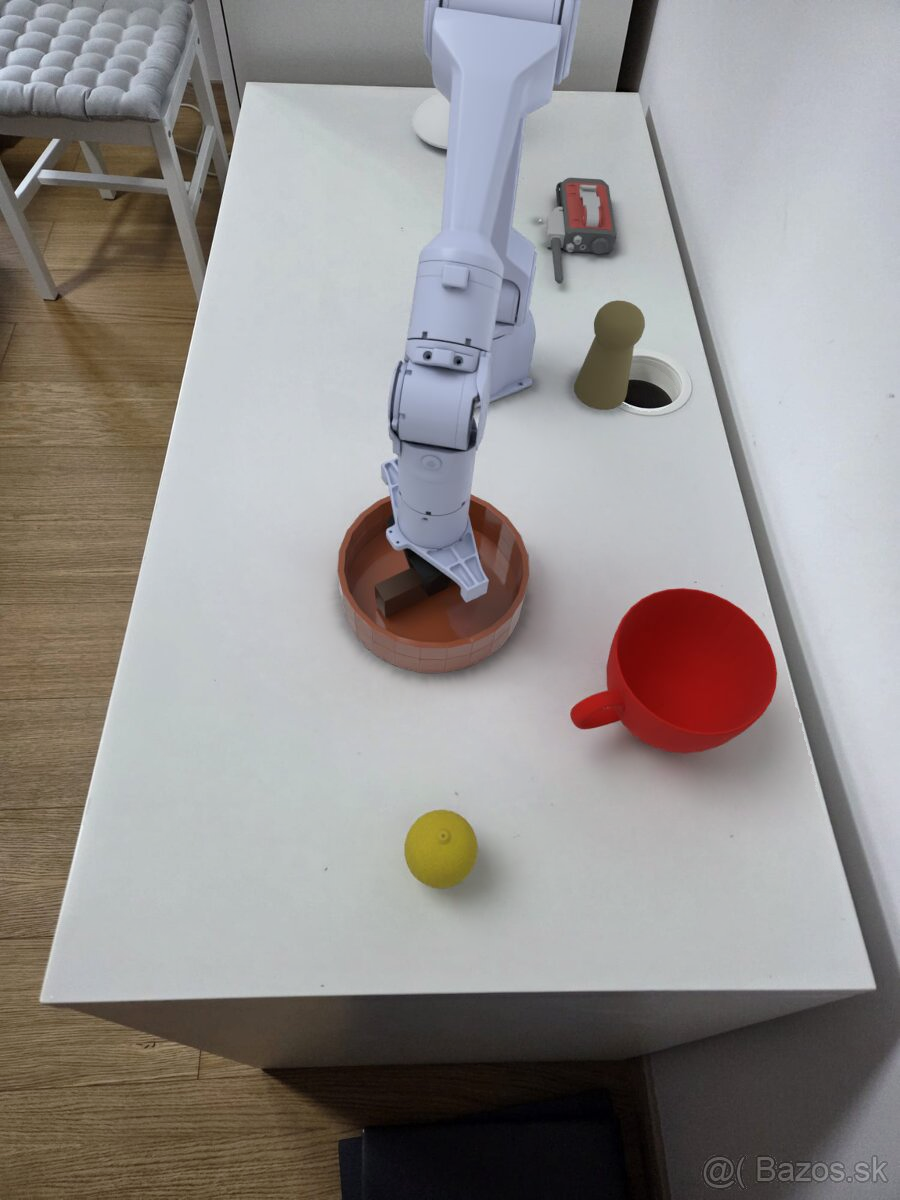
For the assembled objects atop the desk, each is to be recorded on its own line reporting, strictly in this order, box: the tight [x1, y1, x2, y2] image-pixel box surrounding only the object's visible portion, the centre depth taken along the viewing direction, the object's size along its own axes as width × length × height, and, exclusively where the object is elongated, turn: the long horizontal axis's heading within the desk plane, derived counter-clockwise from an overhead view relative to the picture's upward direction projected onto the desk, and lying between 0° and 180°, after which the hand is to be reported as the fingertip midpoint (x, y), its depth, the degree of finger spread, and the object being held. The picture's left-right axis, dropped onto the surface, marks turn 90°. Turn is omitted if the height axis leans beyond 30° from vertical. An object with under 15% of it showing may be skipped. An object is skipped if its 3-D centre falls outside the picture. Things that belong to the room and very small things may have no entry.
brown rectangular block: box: [375, 553, 481, 618], centre depth 74 cm, size 10×2×3 cm, turn 121°
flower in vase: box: [411, 91, 450, 150], centre depth 105 cm, size 13×11×25 cm
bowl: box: [337, 493, 531, 674], centre depth 75 cm, size 17×17×5 cm
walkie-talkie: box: [545, 177, 617, 284], centre depth 103 cm, size 9×4×20 cm
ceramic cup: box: [569, 587, 778, 754], centre depth 67 cm, size 13×17×10 cm
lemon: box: [403, 809, 479, 889], centre depth 61 cm, size 6×6×8 cm
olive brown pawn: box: [573, 300, 646, 411], centre depth 87 cm, size 6×6×11 cm
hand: (429, 578), depth 75 cm, fingers closed on brown rectangular block, 2 cm apart
